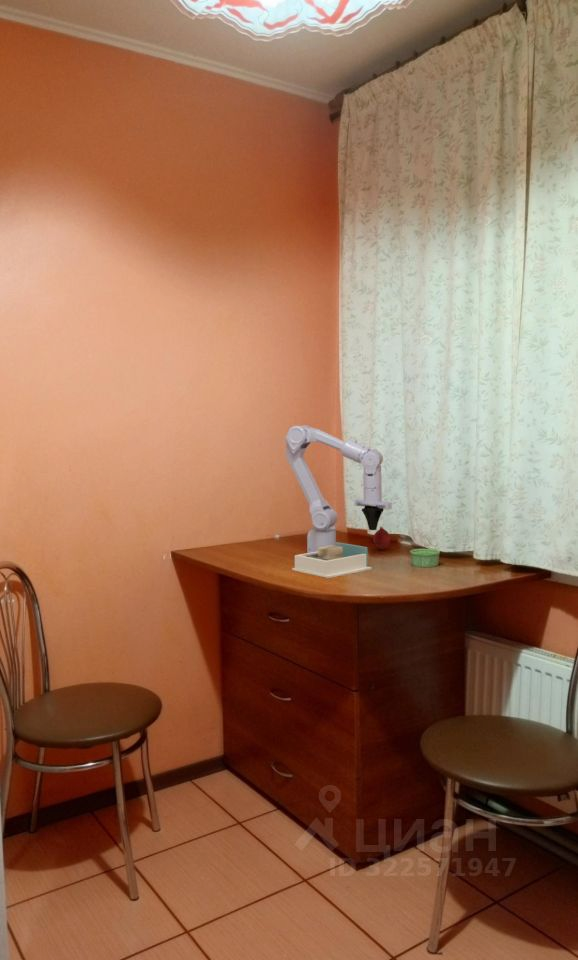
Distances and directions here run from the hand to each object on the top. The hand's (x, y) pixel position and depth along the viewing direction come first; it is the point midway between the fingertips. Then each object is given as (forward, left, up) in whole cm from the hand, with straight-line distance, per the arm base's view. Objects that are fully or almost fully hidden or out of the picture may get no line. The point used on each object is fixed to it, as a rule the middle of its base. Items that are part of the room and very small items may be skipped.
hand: (372, 529), depth 241 cm
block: (+3, -22, -8) cm, 23 cm away
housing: (+3, -21, -9) cm, 23 cm away
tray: (+3, -20, -8) cm, 22 cm away
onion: (-9, +14, -10) cm, 19 cm away
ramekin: (+18, +4, -10) cm, 21 cm away
